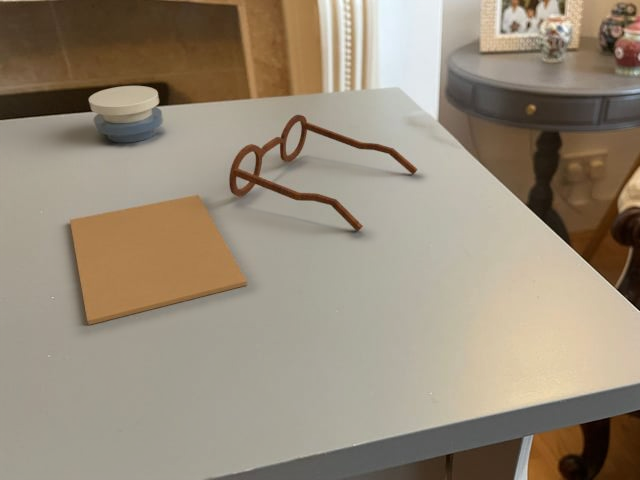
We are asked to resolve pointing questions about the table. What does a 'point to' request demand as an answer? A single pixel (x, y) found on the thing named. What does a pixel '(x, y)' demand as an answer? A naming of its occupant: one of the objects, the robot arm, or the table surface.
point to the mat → (150, 258)
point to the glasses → (274, 142)
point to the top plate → (124, 103)
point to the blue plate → (130, 128)
